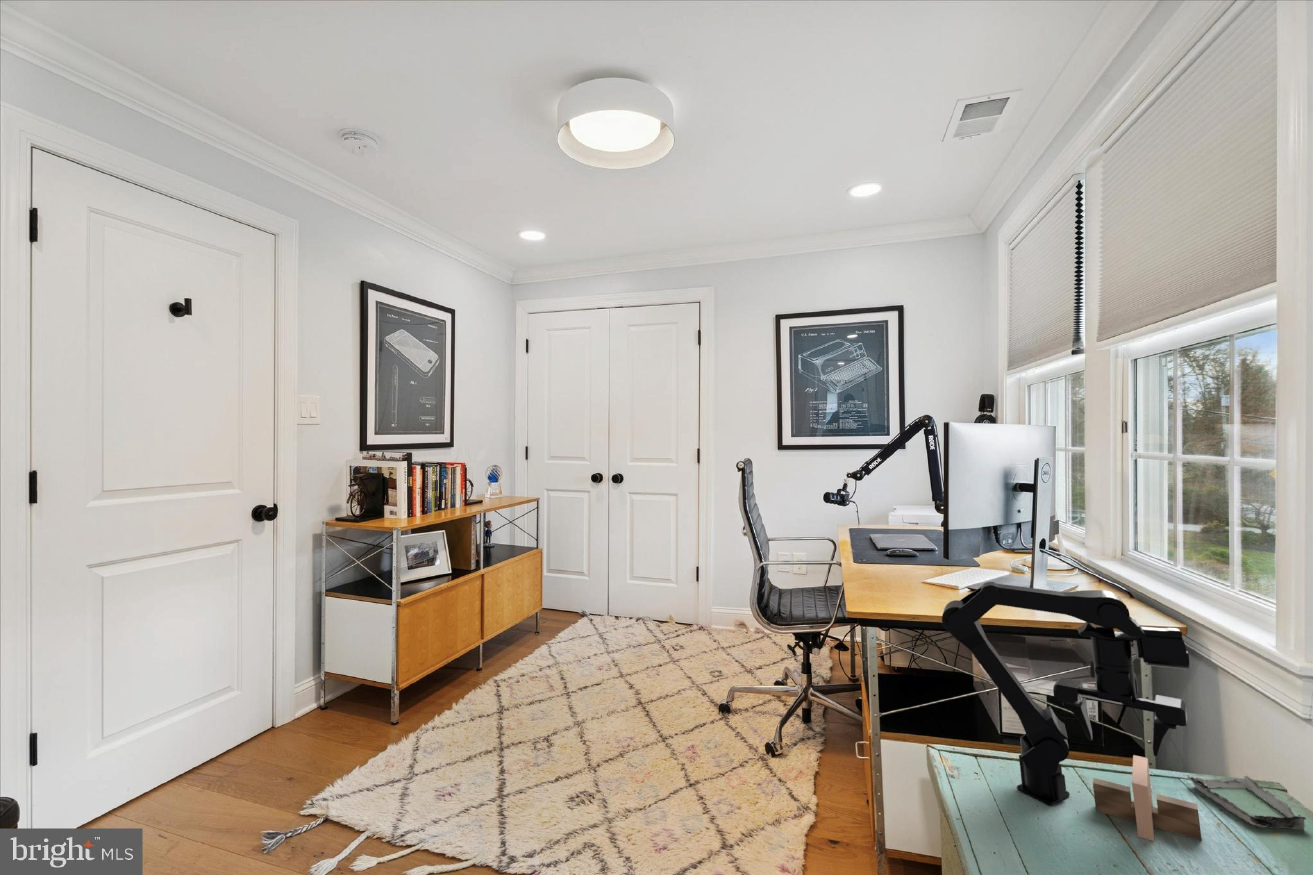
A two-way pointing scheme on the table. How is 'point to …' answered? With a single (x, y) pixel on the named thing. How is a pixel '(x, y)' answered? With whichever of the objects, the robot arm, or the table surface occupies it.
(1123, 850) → the table surface
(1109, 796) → the cross rail
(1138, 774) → the crosspiece
